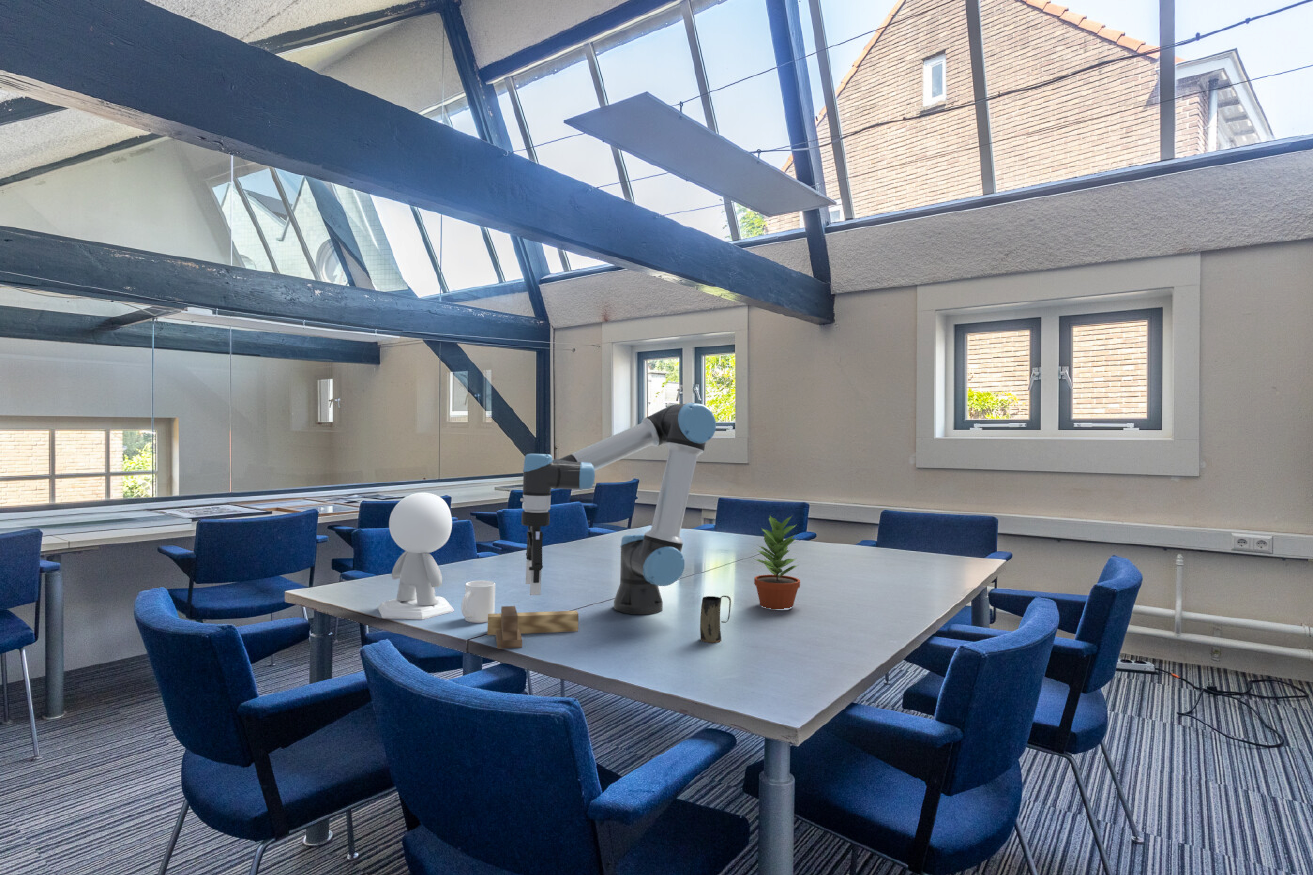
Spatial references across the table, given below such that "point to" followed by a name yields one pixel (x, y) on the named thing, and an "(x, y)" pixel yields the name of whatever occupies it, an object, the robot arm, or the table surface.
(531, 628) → the oak bar
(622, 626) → the table surface
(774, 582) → the potted plant
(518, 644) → the fulcrum
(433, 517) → the big headed doll
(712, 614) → the mug
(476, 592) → the mug
